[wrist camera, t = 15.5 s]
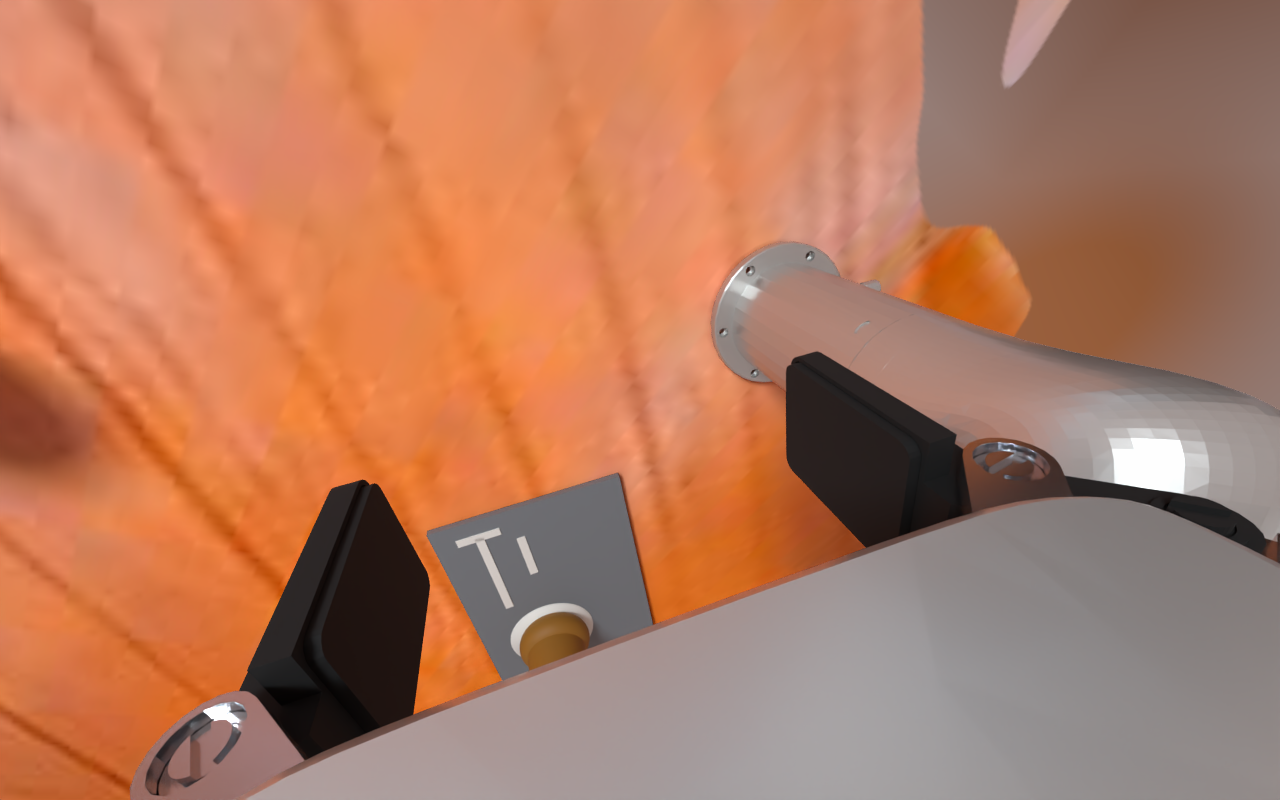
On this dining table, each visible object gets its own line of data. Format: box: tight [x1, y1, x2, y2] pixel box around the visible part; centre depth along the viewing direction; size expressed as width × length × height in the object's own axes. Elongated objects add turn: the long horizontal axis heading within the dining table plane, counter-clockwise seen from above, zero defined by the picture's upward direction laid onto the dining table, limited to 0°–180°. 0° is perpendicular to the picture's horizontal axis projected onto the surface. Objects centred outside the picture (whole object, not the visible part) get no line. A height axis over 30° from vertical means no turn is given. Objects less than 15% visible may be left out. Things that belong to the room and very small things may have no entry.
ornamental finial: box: [520, 612, 590, 671], centre depth 49 cm, size 8×8×8 cm
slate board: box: [427, 473, 653, 680], centre depth 51 cm, size 18×24×1 cm
